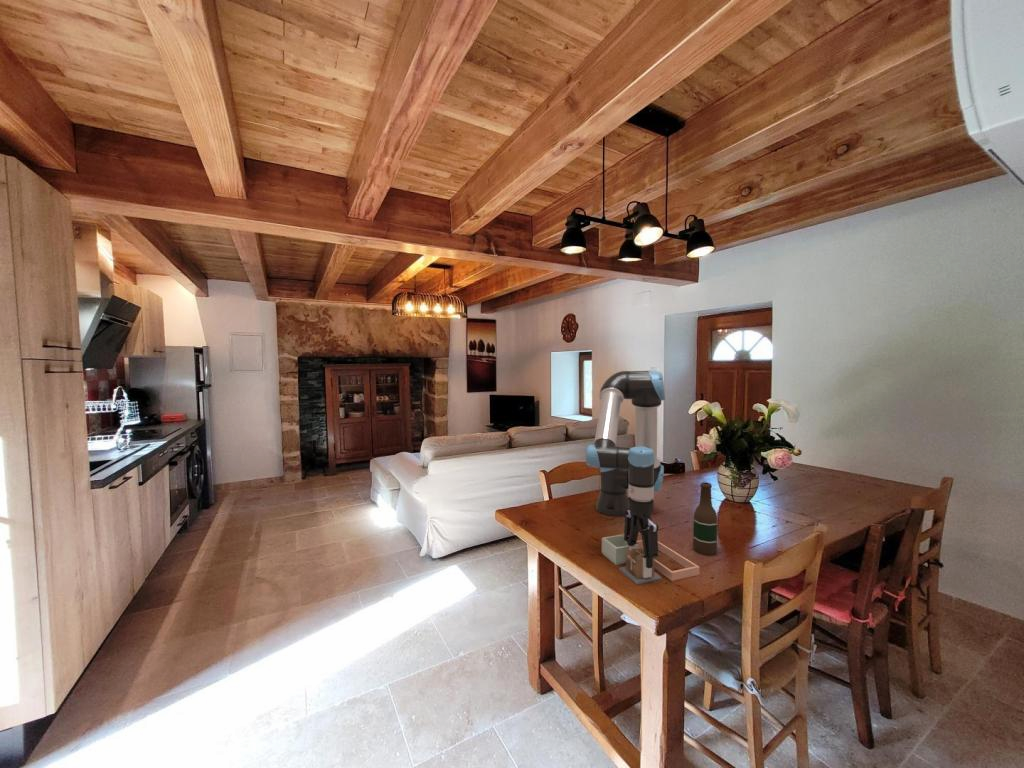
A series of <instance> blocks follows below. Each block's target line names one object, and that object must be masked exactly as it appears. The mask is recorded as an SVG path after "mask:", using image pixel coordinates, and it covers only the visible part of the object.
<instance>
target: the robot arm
mask: <svg viewBox="0 0 1024 768" xmlns="http://www.w3.org/2000/svg"><path fill="white" fill-rule="evenodd" d="M665 392H666V391H665V384H664V377H663V373H661V371H656V370H655V371H654V370H653V371H652V370H628V371H627V370H622V371H618V372H616V373H614V374H612V375H610V376H609V377H608V378H607V379H606V380H605V381H604V383H603V384H602V386H601V388H600V391H599V395H598V396H599V400H600V406H599V410H598V411H599V412H598V418H597V425H596V430H595V437H594V443H593V444H589V445H587V447H586V449H585V450H586V451H585V462H586V465H587V466H588V467H592V468H597V469H600V470H599V471H600V483H599V485H600V487H599V488H600V491H599V495H598V498H597V501H596V510H598V511H597V512H599V513H600V512H601V513H600V514H603V515H607V516H611V515H612V516H613V517H623V516H624V529H623V530H624V532H623V533H624V534H623V535H624V540H625V541H627V544H628V545H629V550H633V549H638V546H637V545H635V544H638V543H637V542H636V541H638V536H639V534H640V535H641V540H642V542H643V549H644V554H645V555H644V556H643V578H648V577H652V567H653V558H655V559H656V558H658V557H659V550H658V541H659V539H658V533H659V532H658V530H659V525H658V523H656V524H655V523H654V522H653V520H652V514H653V513H654V510H655V509H654V507H655V505H654V504H655V503H654V498H655V493H656V492H660V490H661V489H662V487H663V480H664V473H665V472H664V471H665V468H664V467H665V466H664V465H662V464H661V461H660V459H659V458H658V457H657V454H658V449H657V448H658V447H657V445H658V408H660V406H662V401H665V400H666V393H665ZM624 400H631V404H632V406H634V407H635V418H634V419H635V421H634V422H635V446H633V447H628V446H627V447H626V446H617V439H618V431H619V422H620V412H621V404H622V403H623V402H624ZM648 552H649V553H648Z"/></svg>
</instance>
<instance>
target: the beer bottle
mask: <svg viewBox="0 0 1024 768" xmlns="http://www.w3.org/2000/svg"><path fill="white" fill-rule="evenodd" d="M699 487H700V497H699V503H698V504H699V505H698V506H697V507H696V509H695V510H694V513H693V514H694V515H693V529H692V530H693V532H692V533H693V535H692V537H693V538H692V541H693V542H692V543H693V544H692V545H693V546H692V548H693V550H694V551H695V552H696V553H698V554H699V555H703V556H708V557H711V556H716V554H717V550H718V548H717V546H718V515H717V511H716V510H715V509H714V506H713V502H712V484H711V483H710V482H706V481H703V482H701V483H700V485H699Z"/></svg>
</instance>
